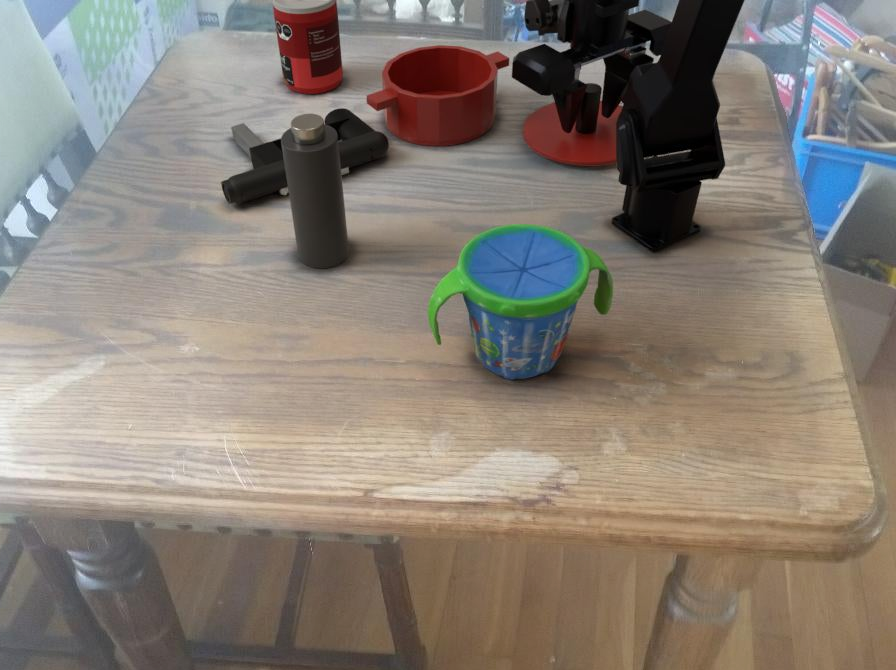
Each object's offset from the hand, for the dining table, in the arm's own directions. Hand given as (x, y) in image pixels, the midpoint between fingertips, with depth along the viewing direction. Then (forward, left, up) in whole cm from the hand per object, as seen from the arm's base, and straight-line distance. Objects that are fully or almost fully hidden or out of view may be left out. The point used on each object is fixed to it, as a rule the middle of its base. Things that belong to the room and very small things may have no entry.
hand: (586, 124), depth 100 cm
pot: (+14, +11, -2) cm, 18 cm away
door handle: (+17, +30, -2) cm, 35 cm away
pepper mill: (-2, +36, -2) cm, 36 cm away
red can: (+32, +19, -2) cm, 37 cm away
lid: (0, 0, -1) cm, 1 cm away
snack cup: (-25, +29, -2) cm, 38 cm away
